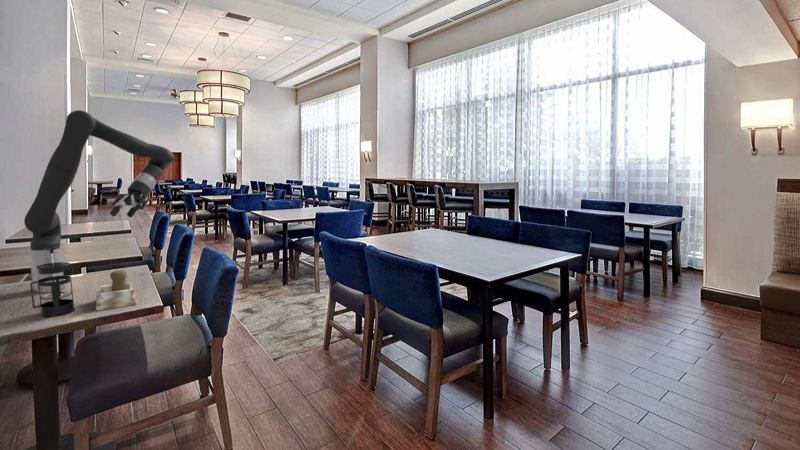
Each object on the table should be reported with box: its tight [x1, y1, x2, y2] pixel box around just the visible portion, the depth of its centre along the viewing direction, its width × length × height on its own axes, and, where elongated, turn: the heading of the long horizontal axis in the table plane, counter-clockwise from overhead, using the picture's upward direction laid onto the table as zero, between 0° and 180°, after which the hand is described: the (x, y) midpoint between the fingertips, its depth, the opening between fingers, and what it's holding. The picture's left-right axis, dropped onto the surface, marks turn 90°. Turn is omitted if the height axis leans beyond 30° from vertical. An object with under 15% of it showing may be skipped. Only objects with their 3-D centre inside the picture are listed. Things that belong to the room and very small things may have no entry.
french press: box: [29, 247, 76, 318], centre depth 145 cm, size 12×9×23 cm
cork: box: [109, 269, 128, 292], centre depth 157 cm, size 6×6×11 cm
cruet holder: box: [95, 281, 137, 311], centre depth 158 cm, size 12×14×6 cm
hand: (120, 215), depth 170 cm, fingers open, 8 cm apart
